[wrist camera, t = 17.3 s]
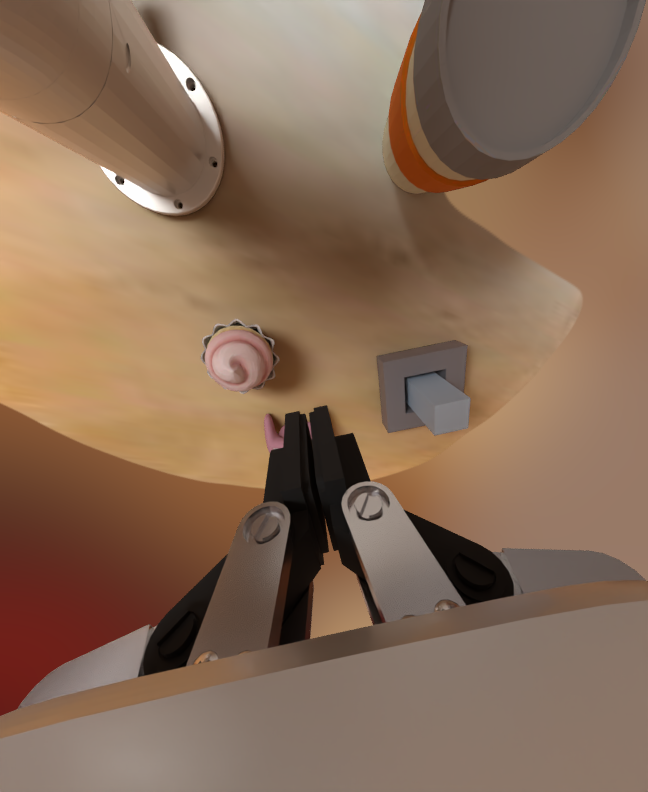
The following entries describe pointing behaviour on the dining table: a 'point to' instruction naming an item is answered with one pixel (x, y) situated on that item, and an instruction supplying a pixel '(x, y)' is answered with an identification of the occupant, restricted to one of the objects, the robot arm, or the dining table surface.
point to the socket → (398, 365)
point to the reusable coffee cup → (499, 85)
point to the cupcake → (239, 356)
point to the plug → (437, 403)
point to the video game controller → (275, 434)
